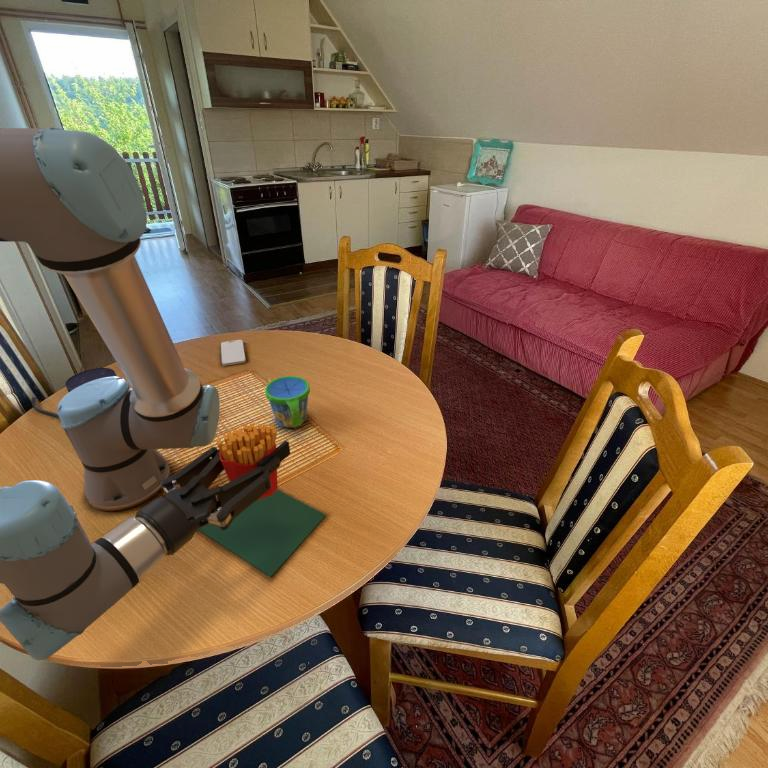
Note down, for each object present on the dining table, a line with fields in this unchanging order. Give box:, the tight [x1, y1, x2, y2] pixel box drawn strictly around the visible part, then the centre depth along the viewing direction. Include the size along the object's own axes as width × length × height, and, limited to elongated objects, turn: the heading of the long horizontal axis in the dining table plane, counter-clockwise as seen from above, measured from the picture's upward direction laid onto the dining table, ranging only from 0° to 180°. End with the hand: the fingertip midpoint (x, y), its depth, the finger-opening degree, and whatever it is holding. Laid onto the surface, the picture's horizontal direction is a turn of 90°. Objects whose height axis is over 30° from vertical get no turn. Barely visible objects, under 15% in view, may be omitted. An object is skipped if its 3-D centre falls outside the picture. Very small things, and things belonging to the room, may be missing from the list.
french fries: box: [215, 422, 279, 500], centre depth 69 cm, size 9×4×13 cm, turn 116°
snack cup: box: [264, 375, 311, 429], centre depth 102 cm, size 16×10×10 cm
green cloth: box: [197, 489, 327, 578], centre depth 79 cm, size 20×15×1 cm
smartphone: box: [219, 339, 247, 367], centre depth 134 cm, size 7×1×15 cm
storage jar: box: [64, 367, 118, 393], centre depth 97 cm, size 10×10×15 cm
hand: (273, 441), depth 72 cm, fingers closed on french fries, 6 cm apart
